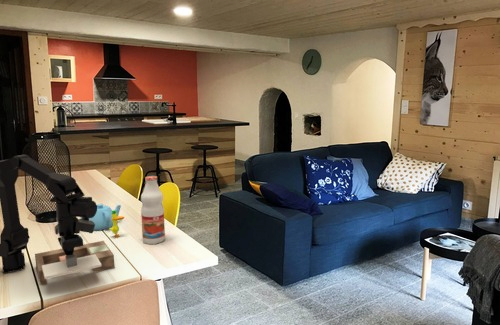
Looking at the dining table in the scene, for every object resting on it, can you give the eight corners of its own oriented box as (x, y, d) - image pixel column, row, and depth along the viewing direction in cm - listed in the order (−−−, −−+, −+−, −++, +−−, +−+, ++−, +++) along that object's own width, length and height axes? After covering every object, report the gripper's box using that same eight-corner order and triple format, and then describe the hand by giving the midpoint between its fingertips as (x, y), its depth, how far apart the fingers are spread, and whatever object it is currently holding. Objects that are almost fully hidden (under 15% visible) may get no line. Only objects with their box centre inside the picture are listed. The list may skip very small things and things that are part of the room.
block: (61, 273, 138) (60, 261, 137) (60, 268, 142) (59, 256, 141) (75, 270, 140) (74, 258, 139) (73, 265, 144) (72, 254, 143)
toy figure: (124, 233, 176) (123, 208, 173) (126, 236, 172) (124, 210, 170) (108, 236, 172) (107, 210, 170) (110, 238, 169) (108, 212, 167)
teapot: (77, 231, 178) (75, 208, 176) (92, 220, 193) (90, 199, 191) (110, 232, 178) (108, 209, 176) (122, 221, 192) (121, 200, 190)
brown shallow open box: (40, 285, 129) (38, 270, 128) (36, 266, 142) (34, 253, 142) (114, 267, 142) (113, 254, 141) (104, 252, 155) (103, 240, 154)
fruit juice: (162, 235, 174) (160, 173, 169) (167, 242, 166) (165, 178, 161) (140, 238, 170) (137, 175, 165) (144, 245, 162) (141, 180, 157)
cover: (44, 279, 122) (43, 267, 121) (41, 267, 130) (40, 257, 129) (101, 266, 131) (100, 255, 130) (95, 256, 139) (94, 246, 138)
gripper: (98, 218, 126) (101, 263, 129) (86, 204, 142) (89, 244, 145) (60, 224, 120) (64, 271, 123) (52, 209, 136) (56, 251, 139)
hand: (70, 258), depth 133 cm, fingers closed
